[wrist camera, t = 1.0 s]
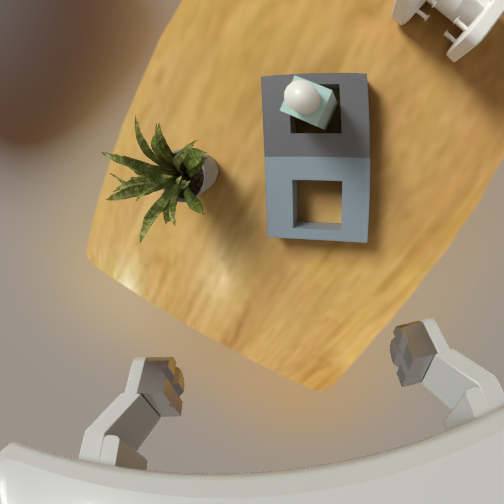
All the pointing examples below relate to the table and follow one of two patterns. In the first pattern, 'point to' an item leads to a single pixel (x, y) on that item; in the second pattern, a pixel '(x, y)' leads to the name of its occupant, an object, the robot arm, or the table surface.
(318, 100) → the plug
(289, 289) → the table surface
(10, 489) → the robot arm
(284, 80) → the socket panel
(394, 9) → the cable organizer
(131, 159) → the house plant
